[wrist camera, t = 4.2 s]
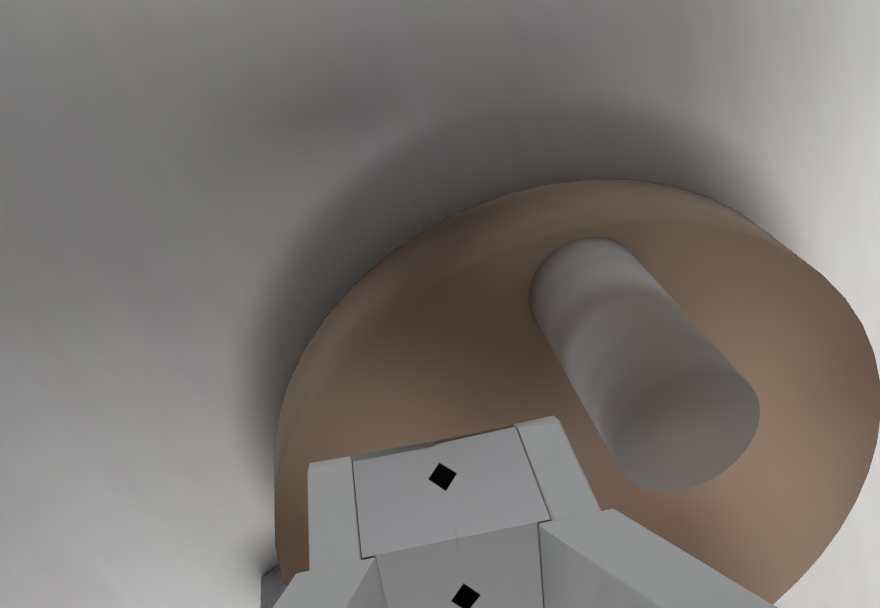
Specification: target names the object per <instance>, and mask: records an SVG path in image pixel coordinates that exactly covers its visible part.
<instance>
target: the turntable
mask: <svg viewBox="0 0 880 608" xmlns="http://www.w3.org/2000/svg"><path fill="white" fill-rule="evenodd" d="M550 416H555V417H556V418H557V419H558V420H559V421H560V423H561V425H562V427H563V429H564V432H565V434H566V436H567V438H568V440H569V442H570V444H571V447H572V449H573V451H574V453H575V455H576V457H577V460H578V462H579V464H580V466H581V468H582V470H583V472H584V475H585V477H586V479H587V481H588V483H589V485H590V488H591V490H592V492H593V494H594V496H595V498H596V501H597V503H598V505H599V507H600V509H601V511H604V510H609V509H615V510H617V511H619V512H620V513H622V514H624V515H625V516H627V517H629V518H630V519H632V520H634V521H635V522H637V523H638V524H640V525H642V526H643V527H645V528H647V529H648V530H650V531H652V532H653V533H655V534H657V535H658V536H660V537H662V538H663V539H665V540H667V541H668V542H670V543H672V544H673V545H675V546H676V547H678V548H680V549H681V550H683V551H685V552H686V553H688V554H690V555H691V556H693V557H695V558H696V559H698V560H700V561H701V562H703V563H705V564H706V565H708V566H709V567H711V568H713V569H714V570H716V571H718V572H719V573H721V574H723V575H724V576H726V577H728V578H729V579H731V580H733V581H734V582H736V583H738V584H739V585H741V586H743V587H744V588H746V589H747V590H749V591H751V592H752V593H754V594H756V595H757V596H759V597H761V598H762V599H764V600H766V601H767V602H769V603H771V604H772V605H773V604H774V603H775V602H776V601H777V600H778V599H779V598H780V597H781V596H783V595H784V594H785V593H786V592H787V591H788V590H789V589H790V588H791V587H792V586H793V585H794V584H795V583H796V582H797V581H798V580H799V579H800V578H801V577H802V576H803V575H804V574H805V573H806V572H807V570H808V569H809V568H810V567H811V566H812V565H813V564H814V563H815V561H816V560H817V559H818V558H819V557H820V556H821V554H822V553H823V552H824V550H825V549H826V548H827V546H828V545H829V543H830V542H831V541H832V539H833V538H834V537H835V535H836V534H837V532H838V531H839V530H840V528H841V526H842V525H843V523H844V521H845V519H846V518H847V516H848V514H849V513H850V511H851V509H852V507H853V506H854V504H855V502H856V500H857V498H858V495H859V493H860V491H861V488H862V486H863V484H864V481H865V479H866V477H867V474H868V472H869V468H870V465H871V461H872V458H873V454H874V451H875V447H876V444H877V438H878V430H879V423H880V380H879V375H878V370H877V365H876V360H875V355H874V352H873V349H872V347H871V344H870V342H869V339H868V337H867V334H866V332H865V330H864V327H863V325H862V323H861V322H860V320H859V319H858V317H857V316H856V314H855V312H854V311H853V309H852V308H851V306H850V305H849V303H848V302H847V300H846V299H845V298H844V297H843V296H842V295H841V293H840V292H839V291H838V290H837V289H836V288H835V287H834V286H833V285H832V284H831V283H830V282H829V281H828V280H827V279H826V278H825V277H824V276H823V275H822V274H821V273H819V272H818V271H817V270H815V269H814V268H813V267H811V266H810V265H809V264H808V263H806V262H805V261H804V260H802V259H801V258H800V257H798V256H797V255H796V254H794V253H793V252H792V251H790V250H789V249H788V248H786V247H785V246H784V245H783V244H781V243H780V242H779V241H777V240H776V239H775V238H773V237H772V236H771V235H769V234H768V233H767V232H765V231H764V230H763V229H761V228H760V227H758V226H757V225H756V224H754V223H753V222H751V221H750V220H749V219H747V218H746V217H744V216H743V215H742V214H740V213H739V212H737V211H735V210H733V209H731V208H729V207H727V206H725V205H723V204H721V203H719V202H717V201H715V200H712V199H710V198H708V197H706V196H703V195H700V194H696V193H693V192H690V191H687V190H683V189H680V188H677V187H673V186H670V185H663V184H656V183H650V182H643V181H636V180H607V179H588V180H580V181H572V182H563V183H555V184H547V185H543V186H539V187H535V188H531V189H526V190H522V191H518V192H514V193H510V194H506V195H503V196H500V197H498V198H495V199H492V200H490V201H487V202H484V203H482V204H479V205H476V206H474V207H471V208H469V209H466V210H463V211H461V212H459V213H457V214H455V215H453V216H451V217H450V218H448V219H446V220H444V221H442V222H440V223H438V224H436V225H434V226H432V227H430V228H428V229H427V230H425V231H423V232H421V233H420V234H418V235H417V236H415V237H414V238H412V239H411V240H410V241H408V242H407V243H405V244H404V245H402V246H401V247H399V248H398V249H396V250H395V251H393V252H392V253H390V254H389V255H388V256H386V257H385V258H384V259H383V260H382V261H380V262H379V263H378V264H377V265H376V266H375V267H374V268H372V269H371V270H370V271H369V272H368V273H367V274H366V275H365V276H363V277H362V278H361V279H360V280H359V281H358V282H357V283H355V284H354V285H353V286H352V288H351V289H350V290H349V291H348V292H347V293H346V294H345V296H344V297H343V298H342V299H341V300H340V301H339V302H338V303H337V305H336V306H335V307H334V308H333V309H332V310H331V311H330V313H329V314H328V315H327V316H326V318H325V319H324V321H323V322H322V324H321V325H320V327H319V328H318V330H317V331H316V333H315V334H314V335H313V337H312V338H311V340H310V341H309V343H308V344H307V346H306V347H305V349H304V351H303V353H302V356H301V358H300V360H299V362H298V364H297V366H296V368H295V370H294V372H293V374H292V376H291V378H290V380H289V383H288V387H287V390H286V393H285V396H284V400H283V403H282V406H281V409H280V413H279V418H278V425H277V432H276V440H275V545H276V551H277V555H278V560H279V564H280V569H281V574H282V577H283V580H284V582H285V584H286V587H287V586H288V585H289V584H290V582H291V581H292V579H293V578H294V576H295V575H296V574H297V573H301V572H306V571H309V523H308V474H307V473H308V469H309V465H310V463H314V462H319V461H325V460H331V459H337V458H343V457H348V456H351V457H353V455H356V454H362V453H367V452H373V451H379V450H385V449H391V448H397V447H402V446H408V445H414V444H420V443H426V442H432V441H437V440H442V439H447V438H452V437H457V436H462V435H467V434H472V433H477V432H482V431H487V430H492V429H497V428H502V427H507V426H514V424H517V423H522V422H527V421H531V420H536V419H540V418H545V417H550Z"/></svg>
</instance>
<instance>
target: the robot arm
mask: <svg viewBox="0 0 880 608" xmlns="http://www.w3.org/2000/svg"><path fill="white" fill-rule="evenodd" d="M307 474H308V523H309V571H306V572H301V573H297V574H296V575H295V576H294V578H293V579H292V581H291V582H290V584H289V585H288V586H287V588H286V589H285V591H284V592H283V594H282V595H281V597H280V598H279V599H278V601H277V602H276V604H275V605H274V607H273V608H777V607H776V606H774V605H772V604H771V603H769V602H767V601H766V600H764V599H762V598H761V597H759V596H757V595H756V594H754V593H752V592H751V591H749V590H747V589H746V588H744V587H743V586H741V585H739V584H738V583H736V582H734V581H733V580H731V579H729V578H728V577H726V576H724V575H723V574H721V573H719V572H718V571H716V570H714V569H713V568H711V567H709V566H708V565H706V564H705V563H703V562H701V561H700V560H698V559H696V558H695V557H693V556H691V555H690V554H688V553H686V552H685V551H683V550H681V549H680V548H678V547H676V546H675V545H673V544H672V543H670V542H668V541H667V540H665V539H663V538H662V537H660V536H658V535H657V534H655V533H653V532H652V531H650V530H648V529H647V528H645V527H643V526H642V525H640V524H638V523H637V522H635V521H634V520H632V519H630V518H629V517H627V516H625V515H624V514H622V513H620V512H619V511H617V510H615V509H609V510H604V511H601V509H600V507H599V505H598V503H597V501H596V498H595V496H594V494H593V492H592V490H591V488H590V485H589V483H588V481H587V479H586V477H585V475H584V472H583V470H582V468H581V466H580V464H579V462H578V460H577V457H576V455H575V453H574V451H573V449H572V447H571V444H570V442H569V440H568V438H567V436H566V434H565V432H564V429H563V427H562V425H561V423H560V421H559V420H558V419H557V418H556V417H555V416H550V417H545V418H540V419H536V420H531V421H527V422H522V423H517V424H514V426H507V427H502V428H497V429H492V430H487V431H482V432H477V433H472V434H467V435H462V436H457V437H452V438H447V439H442V440H437V441H432V442H426V443H420V444H414V445H408V446H402V447H397V448H391V449H385V450H379V451H373V452H367V453H362V454H356V455H353V457H351V456H348V457H343V458H337V459H331V460H325V461H319V462H314V463H310V465H309V469H308V473H307Z"/></svg>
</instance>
